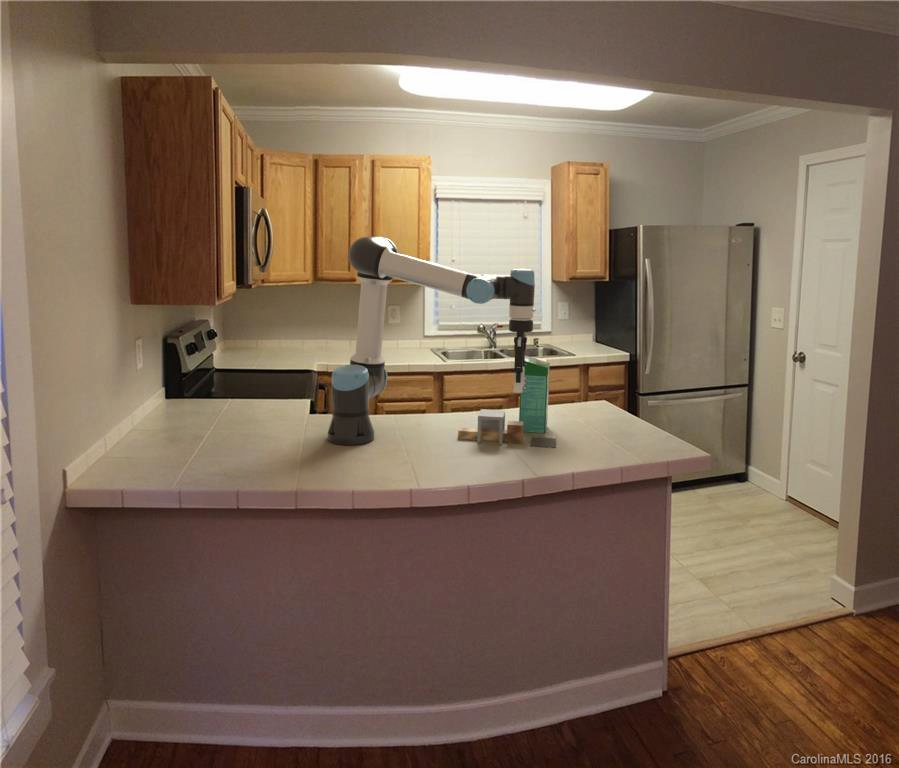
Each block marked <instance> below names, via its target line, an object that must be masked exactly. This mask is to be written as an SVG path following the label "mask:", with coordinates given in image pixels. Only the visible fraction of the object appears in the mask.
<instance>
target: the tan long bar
mask: <svg viewBox="0 0 899 768" xmlns="http://www.w3.org/2000/svg"><path fill="white" fill-rule="evenodd" d="M477 435H478V427H477V428H476V427H475V428H473V427H459V428H458V431H457V439H459V440H460V439H463V440H476V441H477ZM481 441H496V442H499V430H496V429H481ZM502 442H507V429H505V430H503V440H502Z"/></svg>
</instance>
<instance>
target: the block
mask: <svg viewBox="0 0 899 768" xmlns="http://www.w3.org/2000/svg"><path fill="white" fill-rule="evenodd" d="M506 425H507V426H506V430H507V441H506V443H507V442H510V443H511V444H512V443H513V444H523V441H524V432H523V427H524V422H523V421H519V420H508V422H507V424H506Z"/></svg>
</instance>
